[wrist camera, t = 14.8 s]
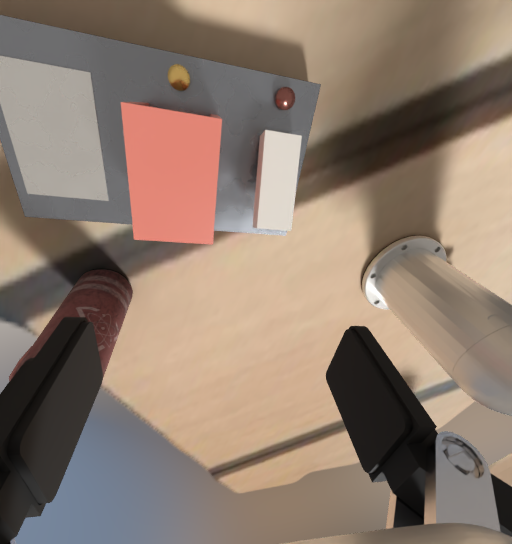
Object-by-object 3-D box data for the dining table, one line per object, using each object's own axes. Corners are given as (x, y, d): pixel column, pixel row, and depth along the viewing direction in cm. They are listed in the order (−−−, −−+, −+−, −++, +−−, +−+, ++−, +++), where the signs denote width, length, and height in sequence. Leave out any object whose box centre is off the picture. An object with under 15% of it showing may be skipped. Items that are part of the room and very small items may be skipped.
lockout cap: (217, 115, 22) (222, 119, 17) (210, 216, 27) (212, 244, 21) (141, 101, 21) (120, 101, 15) (148, 211, 25) (134, 239, 20)
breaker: (293, 141, 24) (301, 135, 22) (284, 229, 26) (291, 231, 24) (259, 136, 23) (265, 129, 21) (252, 227, 25) (257, 228, 23)
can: (76, 261, 30) (-3, 362, 18) (135, 272, 32) (98, 368, 20) (76, 302, 33) (8, 411, 21) (131, 309, 35) (95, 412, 23)
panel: (308, 86, 25) (326, 83, 21) (279, 225, 32) (288, 240, 28) (-11, 18, 19) (-59, -1, 16) (41, 205, 26) (17, 221, 23)
